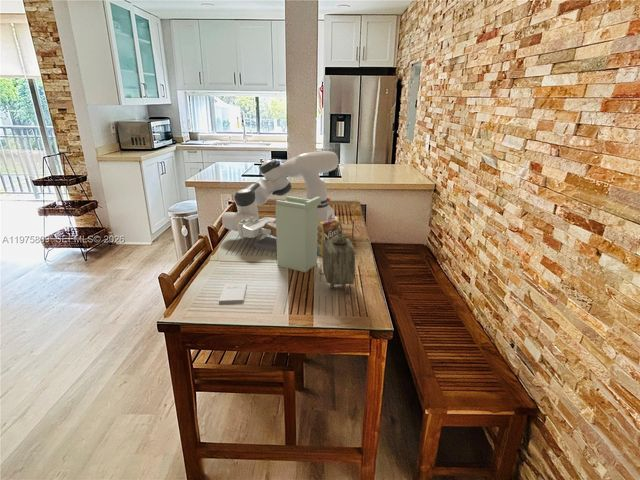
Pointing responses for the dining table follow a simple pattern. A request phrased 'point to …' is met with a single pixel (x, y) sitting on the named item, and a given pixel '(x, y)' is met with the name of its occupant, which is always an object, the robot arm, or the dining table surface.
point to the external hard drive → (233, 293)
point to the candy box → (326, 232)
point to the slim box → (271, 227)
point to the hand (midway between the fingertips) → (275, 229)
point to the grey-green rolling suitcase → (339, 260)
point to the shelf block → (297, 232)
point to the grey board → (267, 244)
